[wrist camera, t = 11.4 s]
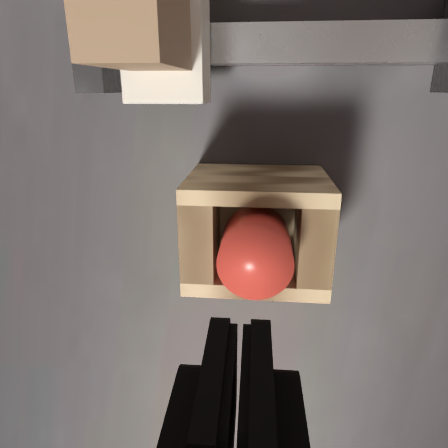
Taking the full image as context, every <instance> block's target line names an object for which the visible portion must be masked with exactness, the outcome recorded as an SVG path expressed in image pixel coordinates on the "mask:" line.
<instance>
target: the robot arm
mask: <svg viewBox="0 0 448 448" xmlns="http://www.w3.org/2000/svg"><path fill="white" fill-rule="evenodd" d="M236 397H237V324H231V323H230V318H214V317H211V319H210V324H209V329H208V334H207V339H206V344H205V349H204V355H203V360H202V365H186V364H180V366H179V368H178V371H177V374H176V378H175V382H174V385H173V389H172V393H171V396H170V400H169V404H168V407H167V411H166V415H165V418H164V422H163V426H162V429H161V433H160V437H159V440H158V444H157V448H234V434H235V419H236ZM237 448H310V442H309V435H308V428H307V421H306V414H305V408H304V401H303V394H302V387H301V380H300V374H299V371H293V370H275V369H273V356H272V339H271V322H270V320H258V319H251V324H243V340H242V359H241V377H240V395H239V413H238V431H237Z"/></svg>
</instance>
